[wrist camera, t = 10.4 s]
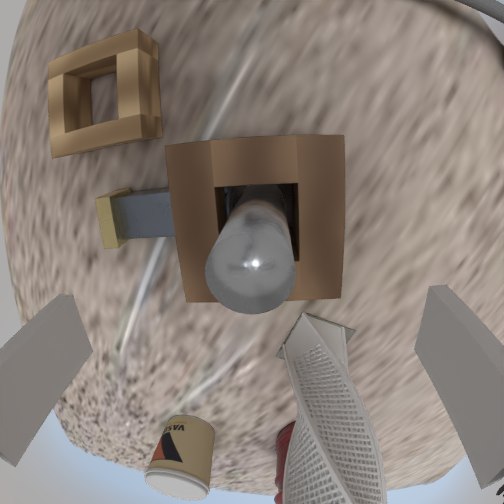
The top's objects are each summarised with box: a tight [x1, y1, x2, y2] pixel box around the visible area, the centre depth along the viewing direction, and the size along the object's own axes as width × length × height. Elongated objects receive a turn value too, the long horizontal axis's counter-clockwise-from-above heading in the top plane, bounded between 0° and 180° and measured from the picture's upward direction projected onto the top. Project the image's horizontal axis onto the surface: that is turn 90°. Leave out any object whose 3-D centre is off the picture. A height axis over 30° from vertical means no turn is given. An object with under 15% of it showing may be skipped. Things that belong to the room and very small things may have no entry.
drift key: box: [95, 186, 234, 249], centre depth 27 cm, size 12×5×4 cm, turn 94°
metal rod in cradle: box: [205, 184, 296, 314], centre depth 21 cm, size 4×4×16 cm
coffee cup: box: [144, 415, 214, 500], centre depth 36 cm, size 9×9×12 cm
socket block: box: [165, 135, 345, 302], centre depth 24 cm, size 12×12×8 cm
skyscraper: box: [276, 312, 387, 504], centre depth 21 cm, size 8×8×28 cm
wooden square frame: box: [48, 28, 163, 158], centre depth 23 cm, size 10×10×5 cm
